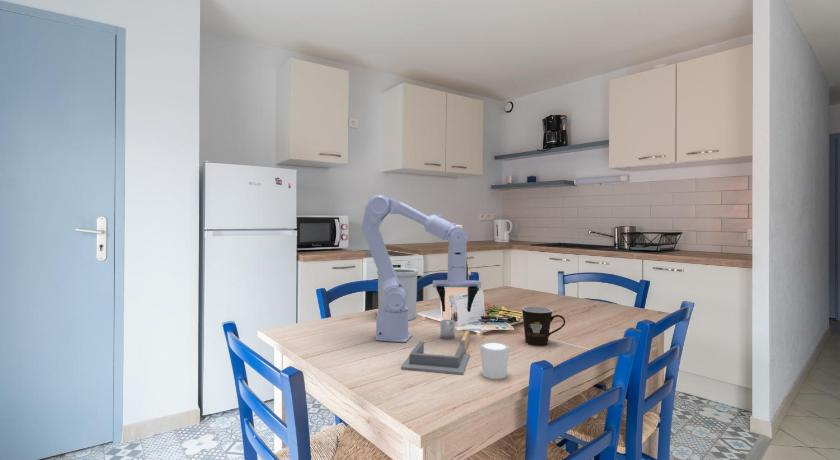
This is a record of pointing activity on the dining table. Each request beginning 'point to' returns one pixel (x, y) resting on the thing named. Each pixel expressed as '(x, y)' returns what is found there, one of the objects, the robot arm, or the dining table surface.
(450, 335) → the steel cylinder
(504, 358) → the white cylinder
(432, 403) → the dining table surface
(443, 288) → the robot arm
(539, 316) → the coffee mug
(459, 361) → the housing
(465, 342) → the gate
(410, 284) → the utensil holder
